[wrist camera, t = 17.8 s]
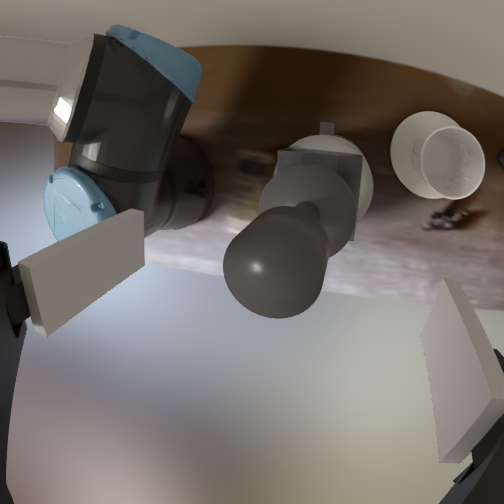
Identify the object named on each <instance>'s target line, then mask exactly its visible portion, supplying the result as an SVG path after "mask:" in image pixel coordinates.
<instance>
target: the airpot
mask: <svg viewBox="0 0 504 504" xmlns="http://www.w3.org/2000/svg"><path fill="white" fill-rule="evenodd" d="M302 163H313V164H319V165H322V166H325V167H327V168H330V169H331V170H333V171H335V172H336V173H337V174H339V175H340V176H341V177H342V178H343V179H344V180H345V182H346V183H347V184H348V186H349V188H350V189H351V191H352V194H353V197H354V201H355V208H356V220H355V226H354V230H353V233H352V235H351V237H350V239H349V241H354V234H355V227H356V223H357V222H358V221H359V220H360V219H361V218H362V217H363V216H364V214H365V213H366V211H367V210H368V208H369V206H370V203H371V200H372V195H373V178H372V173H371V170H370V168H369V165H368V163H367V161H366V159H365V157H364V155H363V153H362V151H361V150H360V148H359V147H358V146H357V145H356V144H355V143H354V142H353V141H351V140H350V139H348V138H346V137H344V136H341V135H336V134H335V123H331V122H320V135H314V136H309V137H305V138H303V139H300V140H298V141H297V142H295V143H293V144H292V145H291V146H289V147H288V148H284V149H281V150H278V157H277V164H276V167H275V170H274V174H273V177H274V176H275V175H276V174H278V173H279V172H281V171H283V170H285V169H286V168H288V167H291V166H293V165H297V164H302Z"/></svg>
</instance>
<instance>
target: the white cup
mask: <svg viewBox="0 0 504 504" xmlns="http://www.w3.org/2000/svg"><path fill="white" fill-rule="evenodd" d="M410 159H411V162H412V166H413V168H414V169H415V170H416V172H417V173H418V175H419V176H420V177H421V178H422V180H423V181H424V182H425V183H426V184H427V185H428V186H429V187H430V188H431V189H432V190H433V191H434V192H435V193H437V194H438V195H440V196H442V197H444V198H448V199H461V198H465V197H467V196H469V195H470V194H472V193H473V192H474V191H475V190H476V189H477V188H478V187H479V185H480V183H481V181H482V179H483V176H484V172H485V157H484V153H483V150H482V148H481V146H480V144H479V142H478V141H477V139H476V138H475V137H474V136H473V135H472V134H471V133H470V132H468V131H467V130H465V129H463V128H460V127H457V126H444V127H439V128H434V129H431V130H428V131H425V132H423V133H422V134H420V135H418V136H417V137H416V138H415V140H414V141H413V143H412V144H411V149H410Z"/></svg>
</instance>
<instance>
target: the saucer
mask: <svg viewBox="0 0 504 504" xmlns="http://www.w3.org/2000/svg"><path fill="white" fill-rule="evenodd" d="M444 126H457V127H460V126H459V125H458V124H457V123H456V122H455V121H454V120H452V119H451V118H449V117H448V116H446V115H444V114H441V113H438V112H432V111H425V112H419V113H416V114H413V115H411V116H409V117H407V118H406V119H404V120H403V121H402V122H401V123H400V124H399V126H398V127H397V129H396V130H395V132H394V134H393V137H392V140H391V145H390V158H391V163H392V166H393V169H394V171H395V173H396V175H397V177H398V178H399V180H400V181H401V182H402V183H403V185H404V186H405V187H406V188H408V189H409V190H410V191H411V192H413V193H415V194H416V195H419V196H421V197H424V198H430V199H439V198H444V197H442V196H440V195H438V194H437V193H435V192H434V191H433V190H432V189H431V188H430V187H429V186H428V185H427V184H426V183H425V182H424V181H423V180H422V178H421V177H420V176H419V175H418V173H417V172H416V170H415V169H414V168H413V166H412V162H411V159H410V149H411V144H412V143H413V141H414V140H415V138H416V137H417V136H418V135H420V134H422V133H423V132H425V131H428V130H431V129H434V128H439V127H444ZM460 128H461V127H460Z"/></svg>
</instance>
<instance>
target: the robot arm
mask: <svg viewBox="0 0 504 504" xmlns="http://www.w3.org/2000/svg"><path fill="white" fill-rule="evenodd" d="M201 77H202V67H201V65H200V63H199V61H198V60H197V59H195V58H194V57H193V56H191V55H189V54H188V53H186V52H184V51H182V50H181V49H179V48H177V47H175V46H173V45H171V44H168V43H166V42H164V41H162V40H160V39H157V38H155V37H153V36H150V35H147V34H145V33H140V32H139V31H136V30H133V29H131V28H129V27H125V26H121V25H113V26H111V27H110V28H109V29H108V30H107V31H106V36H103V35H99V34H94V33H89V34H87V35H85V36H83V37H82V38H80V39H78V40H77V41H75V42H72V43H69V44H68V43H61V42H55V41H47V40H39V39H30V38H19V37H6V36H0V121H4V122H20V123H33V124H44V125H47V126H49V127H50V128H51V130H52V131H53V133H54V134H55V136H56V137H57V138H58V140H59V141H63V142H73V145H72V150H71V154H70V159H69V163H68V166H64V167H60V168H59V169H57V171H55V172H54V173H53V175H51V176H50V177H49V178H48V180H47V183H46V185H45V189H44V209H45V214H46V218H47V221H48V224H49V226H50V228H51V230H52V232H53V234H54V236H55V238H56V240H57V241H58V242H56V243H54V244H52V245H50V246H48V247H46V248H44V249H42V250H40V251H38V252H36V253H34V254H32V255H30V256H28V257H27V258H25V259H23V260H21V261H19V262H18V265H16V266H14V267H11V262H10V257H9V251H8V246H7V244H6V243H5V242H2V241H0V504H14V502H13V499H12V496H11V494H10V492H9V490H8V488H7V484H6V460H7V444H8V432H9V423H10V414H11V407H12V399H13V393H14V387H15V381H16V376H17V370H18V365H19V361H20V355H21V351H22V347H23V342H24V338H25V334H26V330H27V325H26V322H25V320H26V319H27V318H29V317H30V316H31V319H32V323H33V326H34V329H35V330H36V331H37V332H39V333H41V334H42V335H44V336H46V337H48V336H49V335H51V334H52V333H53V332H54V331H56V330H57V329H58V328H59V327H61V326H62V325H64V324H65V323H66V322H68V321H69V320H70V319H72V318H73V317H74V316H76V315H77V314H78V313H80V312H81V311H82V310H84V309H85V308H86V307H88V306H89V305H90V304H92V303H93V302H94V301H96V300H97V299H98V298H100V297H101V296H102V295H104V294H105V293H107V292H108V291H109V290H111V289H112V288H114V287H115V286H116V285H118V284H119V283H121V282H122V281H123V280H125V279H126V278H127V277H129V276H130V275H132V274H133V273H134V272H136V271H137V270H139V269H140V268H142V267H143V266H144V265H145V259H144V238H145V237H147V236H149V235H151V234H152V233H154V232H156V231H157V230H177V229H181V228H185V227H187V226H189V225H191V224H192V223H194V222H195V221H197V220H198V219H200V218H201V217H202V216H203V215H204V214H205V212H206V211H207V209H208V208H209V206H210V204H211V201H212V198H213V193H214V176H213V171H212V168H211V165H210V163H209V161H208V159H207V157H206V155H205V154H204V153H203V151H202V150H201V149H200V148H199V147H198V146H197V145H195V144H194V143H193V142H191V141H189V140H187V139H185V138H182V137H179V134H180V132H181V129H182V127H183V124H184V122H185V119H186V117H187V114H188V112H189V109H190V107H191V105H192V104H193V103H194V101H195V99H194V96H195V93H196V90H197V88H198V85H199V82H200V80H201ZM420 336H421V341H422V345H423V350H424V355H425V360H426V365H427V371H428V376H429V382H430V388H431V395H432V401H433V408H434V416H435V424H436V433H437V443H438V453H439V462H440V463H461V462H462V461H463V460H464V459H465V458H466V456H468V454H469V453H470V452H472V459H473V462H472V463H471V464H470V465H469V466H468V467H467V468H466V469H465V470H464V471H463V472H462V473H461V474H460V475H459V476H458V477H457V478H455V479H454V480H453V482H454V483H455V484H454V486H453V487H452V488H451V489H450V491H449V492H448V493H447V494H446V496H445V497H444V498H443V499H442V500H441V502H440V503H439V504H504V357H503V356H502V355H501V354H500V352H499V351H498V350H497V349H493V348H492V346H491V344H490V341H489V340H488V337H487V335H486V333H485V331H484V329H483V327H482V325H481V323H480V321H479V319H478V317H477V315H476V313H475V311H474V309H473V307H472V305H471V303H470V301H469V300H468V298H467V296H466V294H465V292H464V290H463V289H462V287H461V285H460V283H459V282H457V281H453V280H449V279H445V278H443V279H442V282H441V285H440V287H439V290H438V293H437V295H436V298H435V300H434V303H433V305H432V308H431V310H430V313H429V315H428V318H427V320H426V322H425V324H424V327H423V329H422V331H421V333H420Z"/></svg>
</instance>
